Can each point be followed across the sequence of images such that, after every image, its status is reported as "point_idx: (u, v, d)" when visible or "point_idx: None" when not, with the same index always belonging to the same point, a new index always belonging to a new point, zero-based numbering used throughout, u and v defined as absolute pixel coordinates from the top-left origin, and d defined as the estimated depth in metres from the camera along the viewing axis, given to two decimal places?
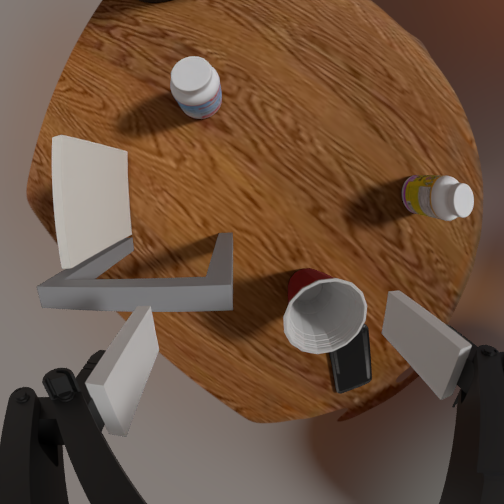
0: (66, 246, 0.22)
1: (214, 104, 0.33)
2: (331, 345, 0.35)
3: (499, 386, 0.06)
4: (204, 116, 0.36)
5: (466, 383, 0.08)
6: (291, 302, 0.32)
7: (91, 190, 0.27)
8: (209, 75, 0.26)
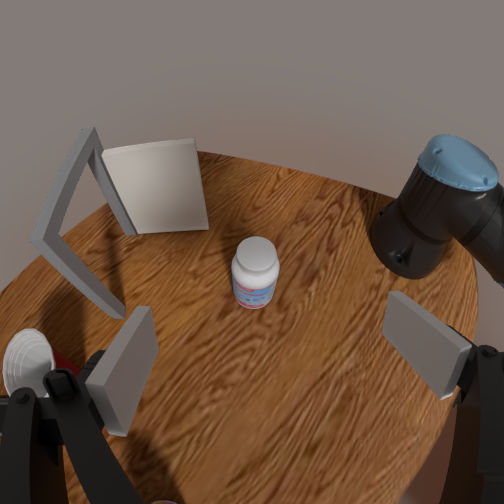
0: (115, 152, 0.31)
1: (239, 293, 0.37)
2: (7, 373, 0.23)
3: (499, 386, 0.06)
4: (233, 291, 0.40)
5: (466, 383, 0.08)
6: (42, 336, 0.25)
7: (160, 181, 0.37)
8: (253, 268, 0.31)
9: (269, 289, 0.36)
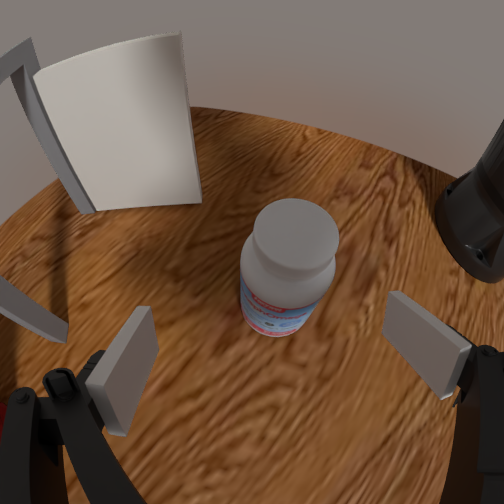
0: (51, 67, 0.13)
1: (255, 313, 0.19)
2: None
3: (499, 386, 0.06)
4: (241, 306, 0.22)
5: (466, 383, 0.08)
6: None
7: (121, 114, 0.19)
8: (293, 265, 0.14)
9: (313, 306, 0.18)
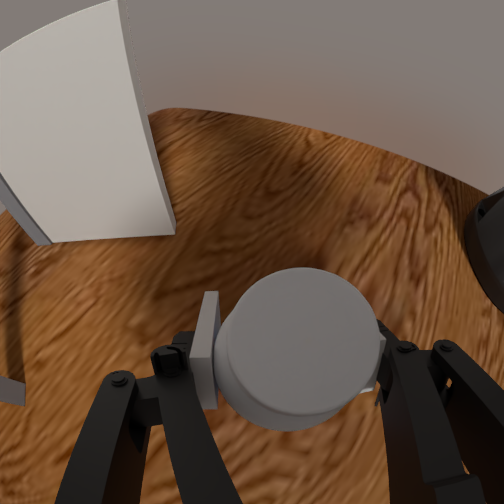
0: None
1: None
2: None
3: (426, 384, 0.07)
4: None
5: (385, 382, 0.09)
6: None
7: (53, 123, 0.12)
8: (298, 410, 0.06)
9: None
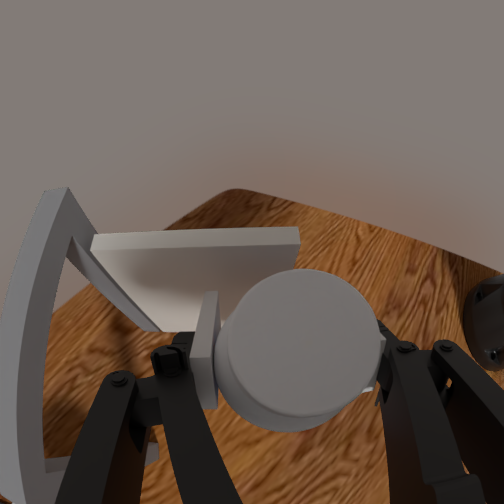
0: (119, 248, 0.15)
1: None
2: None
3: (426, 384, 0.07)
4: None
5: (385, 382, 0.09)
6: None
7: (212, 290, 0.21)
8: (299, 411, 0.06)
9: None
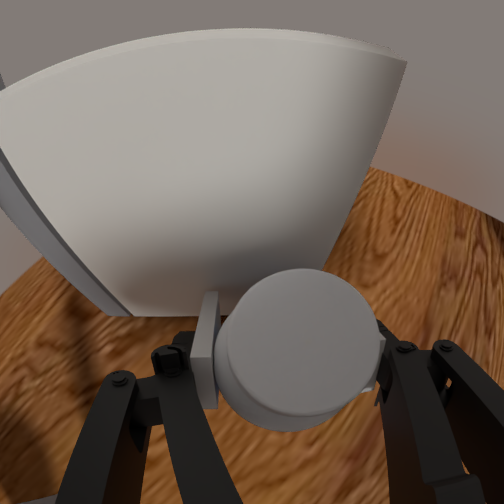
0: (22, 87, 0.05)
1: None
2: None
3: (426, 384, 0.07)
4: None
5: (385, 382, 0.09)
6: None
7: (207, 208, 0.10)
8: (298, 411, 0.06)
9: None
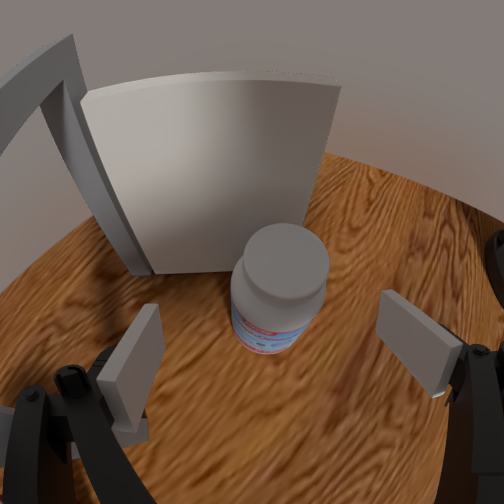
0: (118, 92, 0.10)
1: (246, 334, 0.19)
2: None
3: (492, 385, 0.06)
4: (232, 325, 0.22)
5: (458, 382, 0.08)
6: None
7: (225, 175, 0.16)
8: (283, 294, 0.14)
9: (304, 328, 0.18)
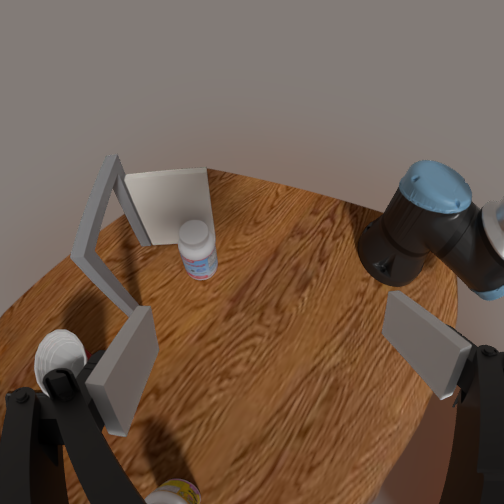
0: (136, 178, 0.38)
1: (186, 265, 0.47)
2: (39, 369, 0.30)
3: (499, 386, 0.06)
4: None
5: (466, 383, 0.08)
6: (74, 336, 0.32)
7: (175, 202, 0.44)
8: (189, 242, 0.41)
9: (207, 261, 0.45)
